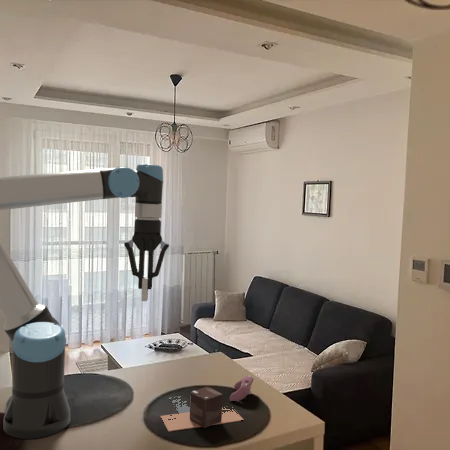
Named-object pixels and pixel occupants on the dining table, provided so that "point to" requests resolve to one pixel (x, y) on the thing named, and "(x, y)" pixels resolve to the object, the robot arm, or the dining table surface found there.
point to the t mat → (185, 422)
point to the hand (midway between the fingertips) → (144, 300)
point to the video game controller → (242, 388)
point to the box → (206, 406)
